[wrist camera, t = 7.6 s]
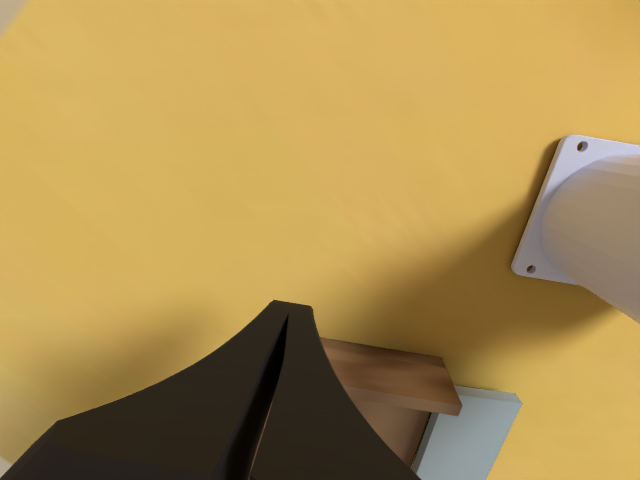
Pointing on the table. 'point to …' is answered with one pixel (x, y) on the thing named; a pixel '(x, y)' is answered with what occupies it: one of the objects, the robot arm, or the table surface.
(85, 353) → the table surface
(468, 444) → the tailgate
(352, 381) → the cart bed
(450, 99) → the table surface
